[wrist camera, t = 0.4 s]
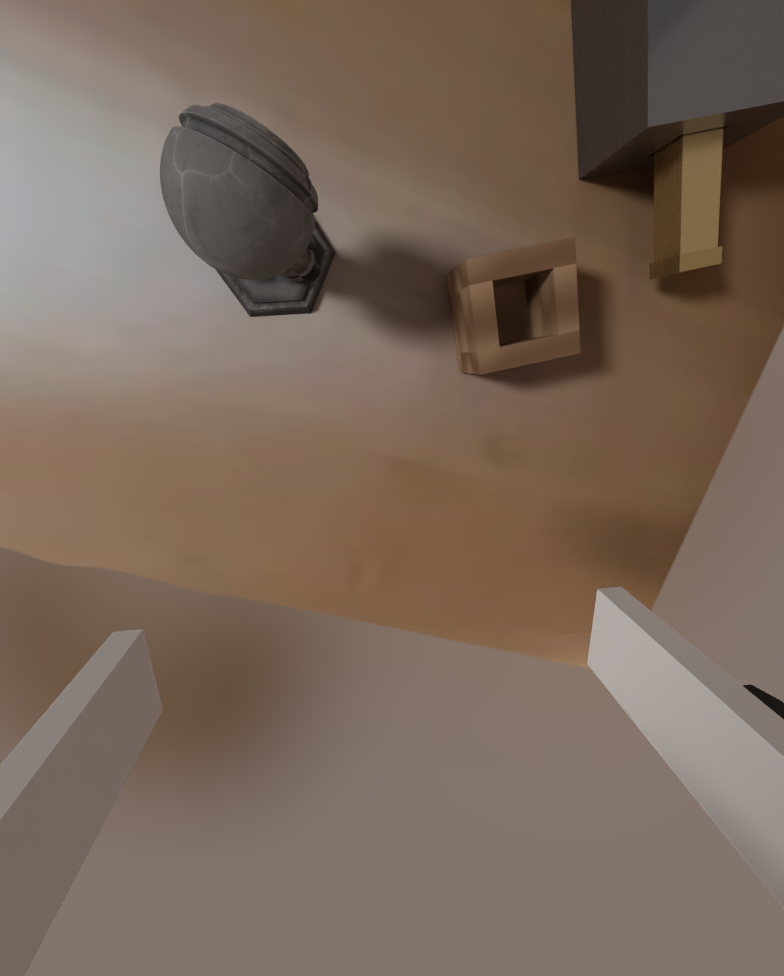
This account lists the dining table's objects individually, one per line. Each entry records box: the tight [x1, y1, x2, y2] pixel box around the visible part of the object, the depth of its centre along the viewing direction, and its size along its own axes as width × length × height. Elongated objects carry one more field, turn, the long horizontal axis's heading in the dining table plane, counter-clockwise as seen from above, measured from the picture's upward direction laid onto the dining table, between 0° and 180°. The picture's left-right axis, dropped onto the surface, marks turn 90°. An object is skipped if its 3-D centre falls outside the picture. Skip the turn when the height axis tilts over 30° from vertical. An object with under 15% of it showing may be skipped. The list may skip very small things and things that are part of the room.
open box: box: [446, 237, 581, 375], centre depth 33 cm, size 8×8×6 cm
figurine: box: [160, 103, 335, 317], centre depth 26 cm, size 9×10×15 cm
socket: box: [571, 0, 784, 179], centre depth 28 cm, size 12×13×8 cm
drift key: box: [650, 127, 723, 280], centre depth 31 cm, size 3×9×3 cm, turn 11°
